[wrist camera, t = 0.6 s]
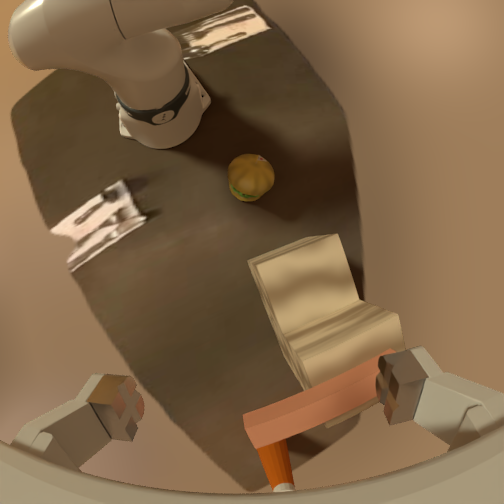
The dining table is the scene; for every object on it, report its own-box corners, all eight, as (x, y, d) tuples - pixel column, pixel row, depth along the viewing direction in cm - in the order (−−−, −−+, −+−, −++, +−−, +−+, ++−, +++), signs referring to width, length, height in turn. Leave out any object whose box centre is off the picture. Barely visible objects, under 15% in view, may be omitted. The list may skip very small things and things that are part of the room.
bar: (242, 414, 29) (244, 429, 26) (390, 348, 30) (403, 356, 27) (252, 433, 29) (255, 448, 26) (394, 368, 31) (407, 377, 28)
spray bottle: (229, 433, 55) (237, 524, 29) (275, 413, 56) (307, 500, 30) (244, 453, 55) (258, 541, 29) (288, 435, 56) (322, 519, 30)
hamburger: (220, 194, 54) (219, 179, 42) (235, 159, 54) (239, 136, 42) (259, 210, 55) (269, 200, 43) (273, 175, 55) (287, 156, 43)
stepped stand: (247, 260, 55) (269, 272, 29) (307, 237, 56) (373, 229, 30) (284, 356, 56) (327, 428, 30) (339, 331, 57) (411, 382, 31)
